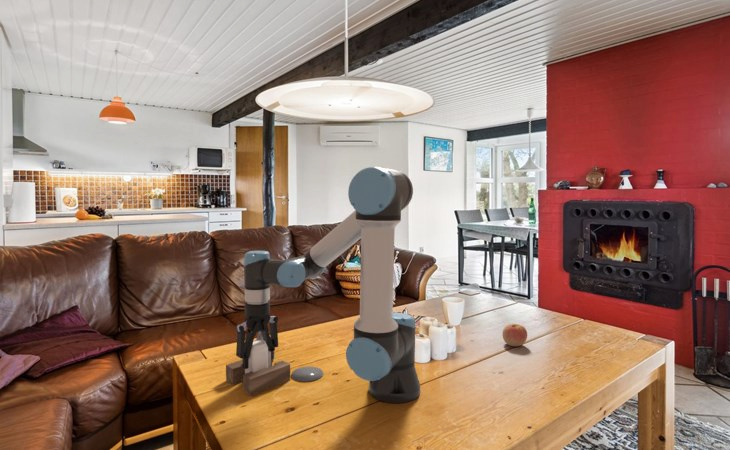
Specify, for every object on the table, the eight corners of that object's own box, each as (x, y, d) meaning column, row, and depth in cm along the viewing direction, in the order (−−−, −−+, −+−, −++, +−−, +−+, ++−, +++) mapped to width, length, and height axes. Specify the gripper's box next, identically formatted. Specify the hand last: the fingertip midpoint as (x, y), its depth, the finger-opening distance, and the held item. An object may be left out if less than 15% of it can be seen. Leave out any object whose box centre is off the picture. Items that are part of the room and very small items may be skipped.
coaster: (329, 374, 129) (329, 372, 129) (305, 384, 122) (305, 383, 122) (309, 365, 136) (309, 363, 136) (285, 374, 129) (285, 373, 129)
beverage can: (272, 377, 127) (271, 340, 126) (262, 386, 121) (261, 347, 120) (254, 374, 129) (254, 338, 128) (243, 383, 123) (243, 345, 122)
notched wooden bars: (290, 379, 125) (290, 364, 125) (250, 395, 115) (250, 379, 115) (264, 366, 135) (264, 352, 134) (226, 380, 124) (225, 364, 124)
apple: (531, 347, 154) (532, 327, 153) (512, 350, 151) (513, 329, 150) (515, 339, 162) (515, 320, 161) (497, 342, 159) (497, 322, 158)
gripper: (276, 293, 133) (276, 361, 134) (222, 305, 119) (223, 380, 120) (290, 297, 128) (290, 368, 129) (235, 310, 113) (236, 389, 115)
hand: (258, 374), depth 125 cm, fingers closed on beverage can, 6 cm apart
